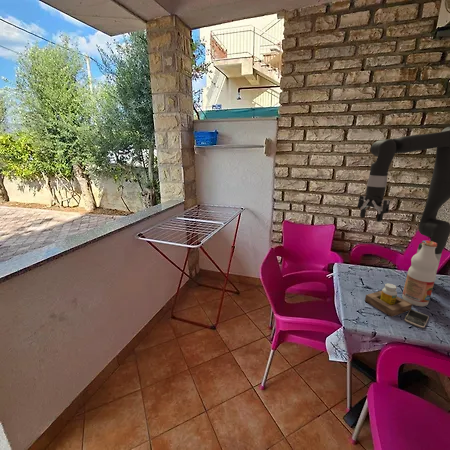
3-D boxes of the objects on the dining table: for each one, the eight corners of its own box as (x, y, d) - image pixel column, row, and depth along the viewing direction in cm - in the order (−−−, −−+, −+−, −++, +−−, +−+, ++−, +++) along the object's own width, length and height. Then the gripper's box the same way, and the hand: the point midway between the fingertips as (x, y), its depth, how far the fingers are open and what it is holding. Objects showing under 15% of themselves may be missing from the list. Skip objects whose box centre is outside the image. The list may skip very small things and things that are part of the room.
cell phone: (403, 322, 95) (404, 319, 94) (410, 311, 102) (411, 308, 101) (423, 330, 90) (423, 327, 90) (428, 318, 97) (429, 315, 97)
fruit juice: (399, 293, 114) (412, 237, 106) (424, 297, 111) (439, 240, 102) (404, 304, 106) (419, 244, 98) (431, 309, 102) (449, 248, 94)
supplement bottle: (382, 300, 108) (386, 281, 106) (396, 306, 104) (400, 286, 101) (376, 304, 105) (381, 284, 103) (390, 310, 101) (395, 290, 98)
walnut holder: (383, 295, 112) (384, 289, 111) (410, 310, 101) (412, 304, 101) (364, 300, 108) (366, 294, 107) (391, 316, 97) (392, 310, 96)
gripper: (397, 186, 106) (390, 222, 111) (368, 183, 119) (362, 215, 124) (385, 187, 104) (378, 223, 108) (357, 184, 116) (352, 216, 121)
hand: (370, 219), depth 116 cm, fingers open, 8 cm apart
